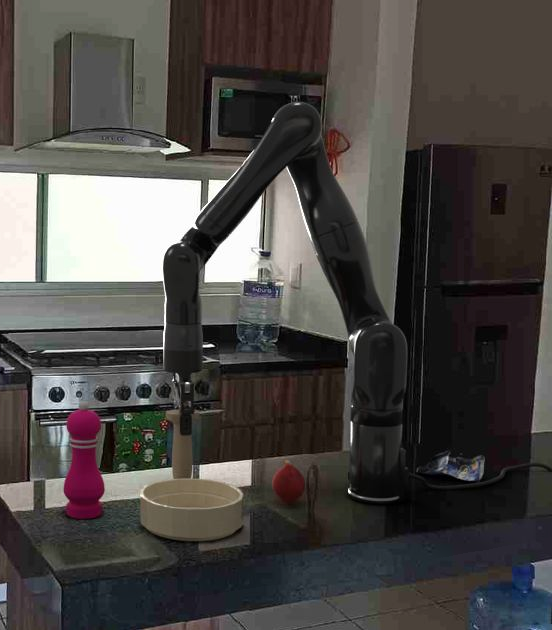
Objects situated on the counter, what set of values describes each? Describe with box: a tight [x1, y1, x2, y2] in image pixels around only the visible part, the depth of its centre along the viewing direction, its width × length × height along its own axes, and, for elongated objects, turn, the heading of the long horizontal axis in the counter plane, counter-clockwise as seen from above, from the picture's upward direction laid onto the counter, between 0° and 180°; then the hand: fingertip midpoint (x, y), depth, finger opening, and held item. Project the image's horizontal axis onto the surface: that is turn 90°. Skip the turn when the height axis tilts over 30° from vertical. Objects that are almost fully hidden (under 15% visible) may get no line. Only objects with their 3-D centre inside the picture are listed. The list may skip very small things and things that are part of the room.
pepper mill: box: [62, 400, 106, 520], centre depth 144 cm, size 7×7×20 cm
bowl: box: [139, 477, 245, 542], centre depth 139 cm, size 17×17×6 cm
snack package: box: [416, 450, 486, 483], centre depth 168 cm, size 12×6×12 cm
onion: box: [271, 460, 306, 505], centre depth 150 cm, size 6×6×8 cm
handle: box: [165, 409, 200, 479], centre depth 159 cm, size 5×6×15 cm
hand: (182, 430), depth 159 cm, fingers open, 8 cm apart
